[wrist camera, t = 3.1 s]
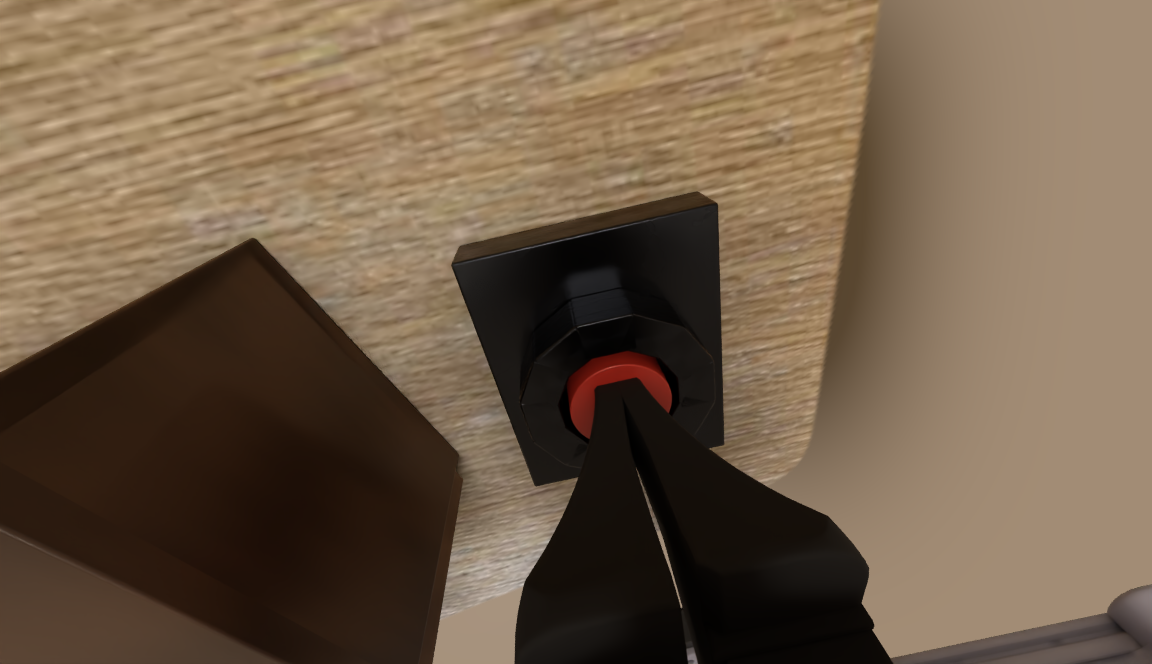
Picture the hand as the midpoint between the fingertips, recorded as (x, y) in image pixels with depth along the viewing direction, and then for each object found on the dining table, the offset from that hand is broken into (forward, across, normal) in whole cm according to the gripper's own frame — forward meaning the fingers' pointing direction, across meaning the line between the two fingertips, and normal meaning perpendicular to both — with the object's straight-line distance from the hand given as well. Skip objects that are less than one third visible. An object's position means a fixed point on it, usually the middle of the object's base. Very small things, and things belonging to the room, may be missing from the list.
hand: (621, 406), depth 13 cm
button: (+2, 0, 0) cm, 2 cm away
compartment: (+4, +15, 0) cm, 16 cm away
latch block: (+4, 0, 0) cm, 4 cm away
